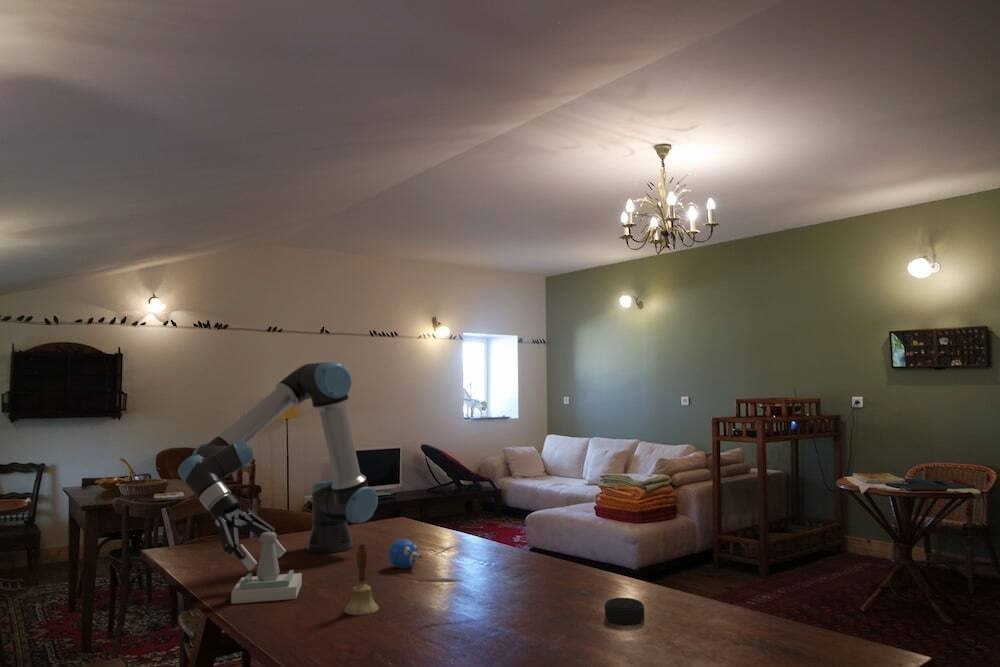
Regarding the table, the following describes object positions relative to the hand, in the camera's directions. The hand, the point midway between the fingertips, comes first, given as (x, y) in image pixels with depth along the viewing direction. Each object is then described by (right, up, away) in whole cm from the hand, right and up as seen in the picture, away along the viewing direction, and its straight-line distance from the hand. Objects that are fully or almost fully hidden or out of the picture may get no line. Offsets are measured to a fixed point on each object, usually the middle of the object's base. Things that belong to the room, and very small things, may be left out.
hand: (268, 560), depth 183 cm
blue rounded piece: (+34, -10, +22) cm, 42 cm away
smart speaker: (+91, -4, -28) cm, 95 cm away
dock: (0, -9, -1) cm, 9 cm away
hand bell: (+28, -7, -17) cm, 34 cm away
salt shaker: (0, -6, 0) cm, 6 cm away
